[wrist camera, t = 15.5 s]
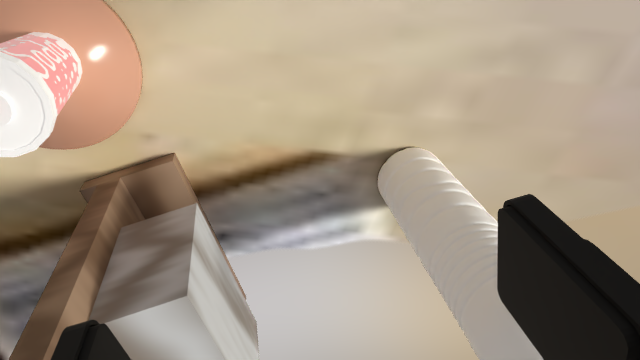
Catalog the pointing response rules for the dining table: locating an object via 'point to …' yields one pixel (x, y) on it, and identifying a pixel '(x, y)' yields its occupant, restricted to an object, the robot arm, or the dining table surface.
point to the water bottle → (454, 249)
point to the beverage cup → (34, 89)
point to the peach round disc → (84, 64)
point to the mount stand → (145, 274)
